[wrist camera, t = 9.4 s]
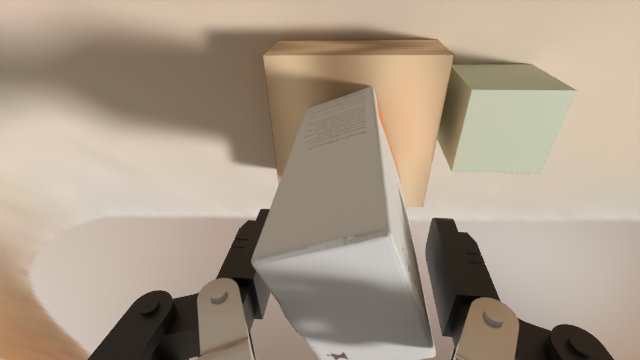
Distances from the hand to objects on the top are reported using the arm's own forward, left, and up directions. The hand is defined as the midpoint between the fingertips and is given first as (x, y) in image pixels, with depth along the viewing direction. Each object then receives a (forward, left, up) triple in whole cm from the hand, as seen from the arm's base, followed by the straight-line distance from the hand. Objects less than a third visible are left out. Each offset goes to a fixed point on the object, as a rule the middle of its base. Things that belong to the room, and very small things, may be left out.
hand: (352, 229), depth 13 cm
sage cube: (-8, -1, -12) cm, 15 cm away
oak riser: (0, 0, -12) cm, 12 cm away
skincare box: (0, 0, -8) cm, 8 cm away
